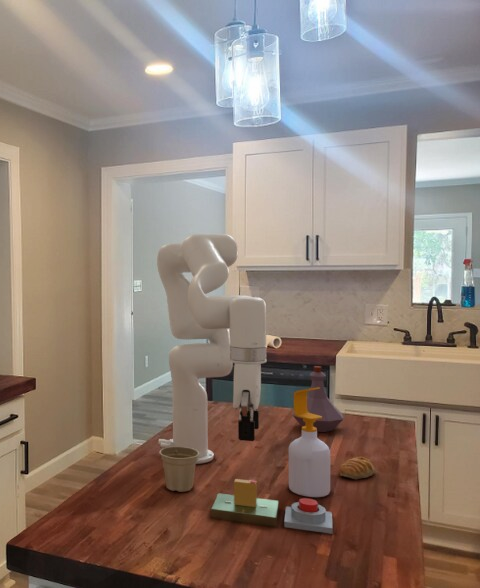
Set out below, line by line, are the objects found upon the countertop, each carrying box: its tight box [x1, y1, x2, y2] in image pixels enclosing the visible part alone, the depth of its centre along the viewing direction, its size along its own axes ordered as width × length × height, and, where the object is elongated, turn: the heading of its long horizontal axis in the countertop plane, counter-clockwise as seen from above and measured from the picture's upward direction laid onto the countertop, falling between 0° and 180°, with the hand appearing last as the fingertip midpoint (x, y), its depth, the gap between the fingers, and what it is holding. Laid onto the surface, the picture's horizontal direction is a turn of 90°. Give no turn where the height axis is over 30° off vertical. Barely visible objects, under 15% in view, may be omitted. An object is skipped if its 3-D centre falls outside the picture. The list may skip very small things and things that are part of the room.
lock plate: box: [210, 492, 280, 528], centre depth 123 cm, size 13×9×2 cm
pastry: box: [338, 456, 376, 480], centre depth 145 cm, size 9×7×4 cm
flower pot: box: [159, 446, 199, 493], centre depth 138 cm, size 9×9×9 cm
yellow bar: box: [233, 478, 258, 507], centre depth 123 cm, size 4×2×5 cm, turn 68°
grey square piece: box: [283, 501, 334, 535], centre depth 118 cm, size 9×8×3 cm
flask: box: [292, 365, 344, 433], centre depth 187 cm, size 16×16×20 cm
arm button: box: [298, 497, 319, 512], centre depth 118 cm, size 4×4×2 cm
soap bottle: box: [288, 387, 331, 498], centre depth 135 cm, size 9×9×25 cm
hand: (248, 434), depth 124 cm, fingers open, 9 cm apart
